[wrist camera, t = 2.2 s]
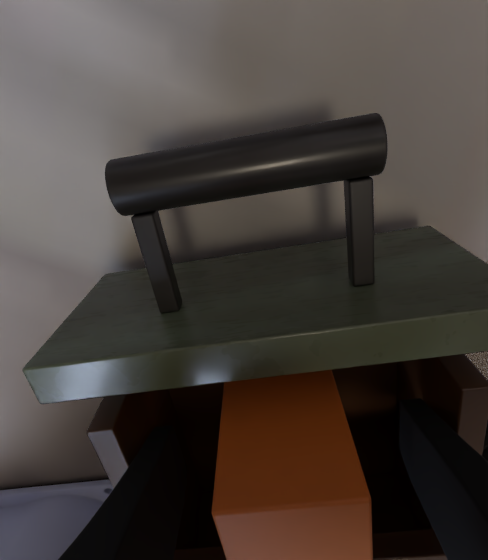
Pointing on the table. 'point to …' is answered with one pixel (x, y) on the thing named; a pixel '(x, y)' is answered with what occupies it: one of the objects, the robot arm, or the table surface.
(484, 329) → the drawer
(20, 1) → the table surface
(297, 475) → the snack box
